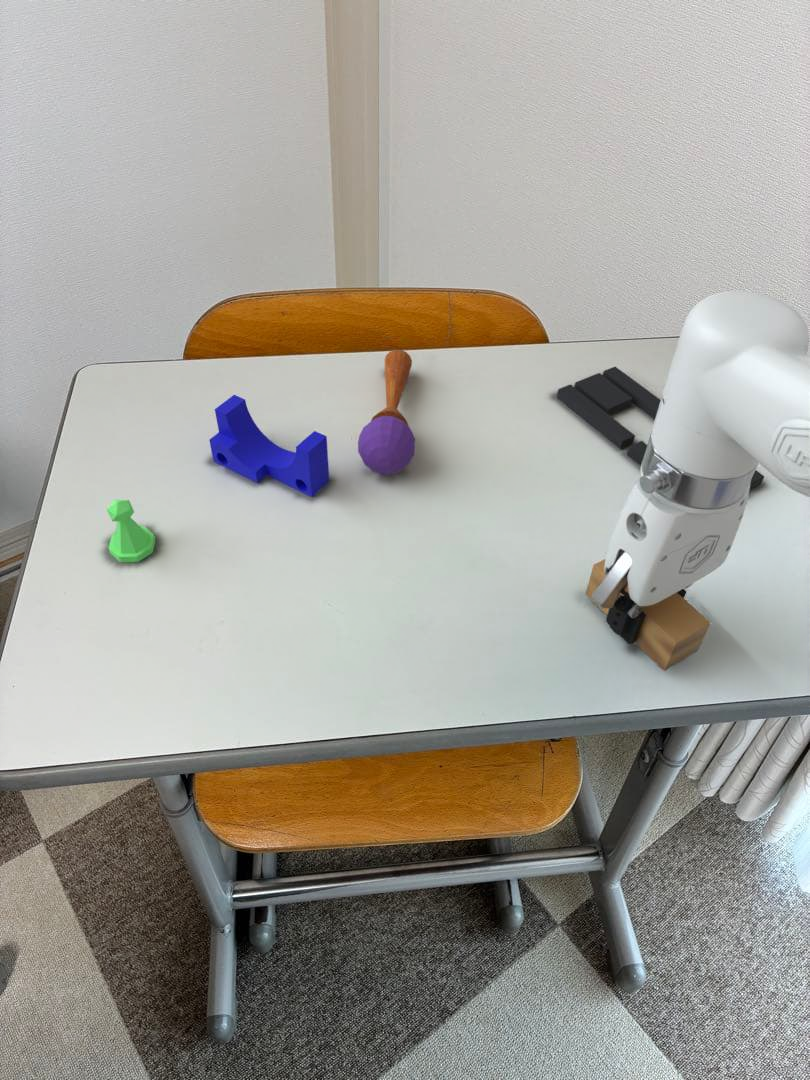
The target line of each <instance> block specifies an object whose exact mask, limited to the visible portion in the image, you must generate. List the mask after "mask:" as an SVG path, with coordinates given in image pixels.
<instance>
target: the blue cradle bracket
mask: <svg viewBox="0 0 810 1080" xmlns="http://www.w3.org/2000/svg"><path fill="white" fill-rule="evenodd" d="M214 413H215V418H216V424H217V429H218V432H217V433H216V434H215V435H213V436H212V437H211V438H210V439H209V440H208V441H209V446H210V450H211V456H212V460H213V462H214V463H215V464H218V465H220V466H222V467H224V468H225V469H228V470H230V471H232V472H234V473H236V474H238V475H240V476H242V477H243V478H246V479H248V480H250V481H252V482H254V483H256V484H258V483H259V482H260V481H261V480H263V479H264V478H265V477H266V476H267V477H269V478H272V479H274V480H276V481H279V482H280V483H281V484H284V485H285V486H288V487H290V488H291V489H294V490H296V491H298V492H300V493H302V494H304V495H306V496H308V497H310V498H313V497H314V496H315V495H316V494H317V493H318V492H319V491H321V490H322V488H323V487H324V486H326V485H327V484H328V483H329V482H330V470H329V452H328V450H329V449H328V436H327V435H325V434H323V433H321V432H318V431H315V430H314V431H312V432H311V433H310V434H308V436H307V437H305V438H304V440H302V441H301V442H299V444H297V445H296V446H295V451H290V450H288V449H285V448H283V447H281V446H279V445H278V444H276V443H275V442H273V441H272V440H271V439H269V437H267V436H266V434H264V432H262V430H260V428H259V427H258V425H257V424H256V422H255V421H254V419H253V418H252V415H251V413H250V411H249V408H248V406H247V401H246V399H245V398H243V397H241V396H238V395H236V394H233V395H231V396H230V397H228V398H227V399H226V400H225V401H224V402H222V403H221V404H219V405H218V406H217V407H215V408H214Z"/></svg>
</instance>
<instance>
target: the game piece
mask: <svg viewBox="0 0 810 1080" xmlns="http://www.w3.org/2000/svg"><path fill="white" fill-rule="evenodd" d="M106 511H107V513H108V515H109V518H110V520H111V522H116V526H115V532H114V533H112V535H111V536H110V540H109V544H108V551H109V553H110V555H111V556H113V557H114V558H115V559H116V560H117V561H119V562H120V563H140V562H141V561H142V560H144V559H145V558H147V557H148V556H150V555H152V554H153V553H154V550H155V544H156V540H157V539H156V536H155V534H154V533H153V532H152V531H150V530H149V529H148V528H147V527H146V526H144V525H139V523H137V522H136V521H135V520H134V519H133V518H132V516H133V515H134V514H135V510H134V508H133V505H132V504H131V502H130V500H129V499H114V500H113V501H112V502H111V503H110V504H109V506H108V507H107V508H106Z"/></svg>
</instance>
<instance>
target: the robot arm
mask: <svg viewBox="0 0 810 1080" xmlns="http://www.w3.org/2000/svg"><path fill="white" fill-rule="evenodd" d="M809 331H810V330H809V327H808V325H807V323H806V320H805V319H804V317H803V316H802V315H801V314H800V313H799V312H798V311H797V310H796V309H795V308H794V307H792V306H791V305H789V304H788V303H786V302H784V301H782V300H780V299H778V298H776V297H773V296H771V295H767V294H764V293H760V292H756V291H755V292H754V291H746V290H727V291H721V292H718V293H713V294H711V295H709V296H706V297H704V298H702V299H701V300H700V301H698V302H697V303H696V304H695V305H694V306H693V307H692V309H691V310H690V311H689V312H688V314H687V316H686V318H685V320H684V322H683V325H682V328H681V330H680V334H679V337H678V341H677V344H676V347H675V351H674V354H673V358H672V361H671V364H670V368H669V371H668V373H667V377H666V381H665V385H664V388H663V391H662V394H661V398H660V400H661V401H660V404H659V408H658V411H657V414H656V418H655V419H654V421H653V425H652V428H651V430H650V431H651V432H650V435H649V438H648V442H647V443H646V444H647V448H646V451H645V455H644V458H643V461H642V464H641V466H640V470H639V475H640V477H639V478H638V479H637V480H636V482H635V484H634V486H633V487H632V490H631V491H630V493H629V495H628V497H627V499H626V502H625V503H624V506H623V508H622V511H621V513H620V515H619V517H618V520H617V522H616V524H615V527H614V530H613V533H612V536H611V539H610V542H609V545H608V548H607V552H606V555H605V558H604V559H605V566H604V570H605V574H606V577H605V578H604V579H603V581H602V582H601V583H600V585H599V586H598V587H597V589H596V590H595V591H594V593H593V594H592V596H591V598H592V599H593V600H594V601H595V602H596V603H597V604H598V605H599V606H600V607H601V608H609V611H608V615H606V618H605V620H606V621H605V622H606V623H607V624H608V626H609V628H610V629H611V631H613V632H614V633H615V634H616V635H618V636H620V637H621V639H622V640H623V641H624V642H626V643H627V644H628V645H632V644H634V643H635V641H636V639H637V637H638V634H639V631H640V628H641V626H642V623H643V620H644V618H645V614H644V612H643V611H642V610H643V608H644V606H650V605H653V604H656V603H658V602H660V601H662V600H664V599H666V598H667V597H669V596H671V595H673V594H675V593H676V592H677V593H678V594H679V595H680V596H681V597H683V598H684V599H685V597H686V595H687V590H686V589H688V588H690V587H691V586H692V585H693V584H694V583H696V582H698V581H699V580H701V579H703V578H704V577H706V576H708V575H710V574H711V573H713V572H714V571H716V570H718V569H719V568H720V567H721V566H722V565H723V563H725V561H727V557H728V555H729V553H730V551H731V548H732V546H733V543H734V542H735V539H736V536H737V534H738V531H739V528H740V525H741V523H742V520H743V517H744V513H745V510H746V507H747V504H748V499H749V495H750V491H751V490H750V482H751V479H752V477H753V474H754V472H755V470H757V467H758V465H761V466H762V467H763V468H764V469H765V470H766V471H767V472H768V473H770V474H771V475H772V476H773V477H774V478H775V479H777V480H778V481H779V482H781V483H782V484H783V485H784V486H786V487H788V488H790V489H791V490H793V491H794V492H796V493H798V494H801V495H803V496H806V497H808V498H810V355H809V354H808V350H809V345H810V332H809ZM627 585H628V590H629V593H627V592H626V591H625V589H626V587H627Z"/></svg>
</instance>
